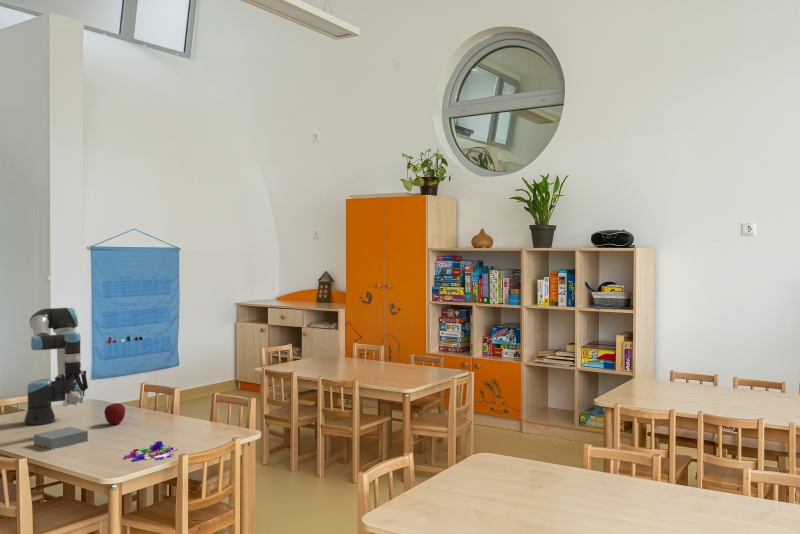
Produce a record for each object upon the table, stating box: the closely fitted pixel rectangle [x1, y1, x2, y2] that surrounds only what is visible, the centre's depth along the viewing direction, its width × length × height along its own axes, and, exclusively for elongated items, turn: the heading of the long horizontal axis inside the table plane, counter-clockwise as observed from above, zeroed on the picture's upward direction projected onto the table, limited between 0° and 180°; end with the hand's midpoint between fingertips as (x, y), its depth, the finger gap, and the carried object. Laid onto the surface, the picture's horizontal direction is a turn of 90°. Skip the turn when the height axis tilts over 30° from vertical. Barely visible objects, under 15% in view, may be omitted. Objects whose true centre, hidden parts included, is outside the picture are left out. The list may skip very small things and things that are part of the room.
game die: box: [67, 390, 84, 407], centre depth 343 cm, size 9×8×10 cm
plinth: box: [33, 426, 89, 450], centre depth 322 cm, size 16×18×5 cm
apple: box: [104, 402, 126, 425], centre depth 360 cm, size 11×11×12 cm
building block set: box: [123, 440, 175, 463], centre depth 302 cm, size 25×20×4 cm
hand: (73, 404), depth 343 cm, fingers closed on game die, 8 cm apart
